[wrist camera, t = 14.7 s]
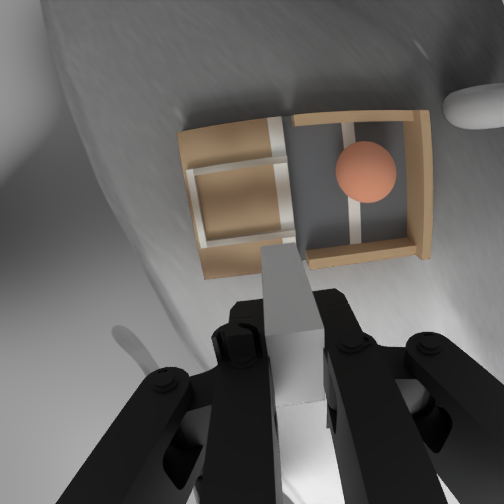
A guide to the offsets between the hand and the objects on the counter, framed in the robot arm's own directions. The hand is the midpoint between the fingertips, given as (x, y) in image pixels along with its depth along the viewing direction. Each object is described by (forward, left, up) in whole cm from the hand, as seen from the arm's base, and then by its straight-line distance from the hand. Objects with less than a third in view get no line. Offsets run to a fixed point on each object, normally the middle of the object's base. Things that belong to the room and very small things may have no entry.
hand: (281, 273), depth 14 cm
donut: (+8, -22, -17) cm, 29 cm away
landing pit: (0, -9, -17) cm, 19 cm away
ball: (+2, -9, -14) cm, 16 cm away
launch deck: (0, +2, -17) cm, 17 cm away
